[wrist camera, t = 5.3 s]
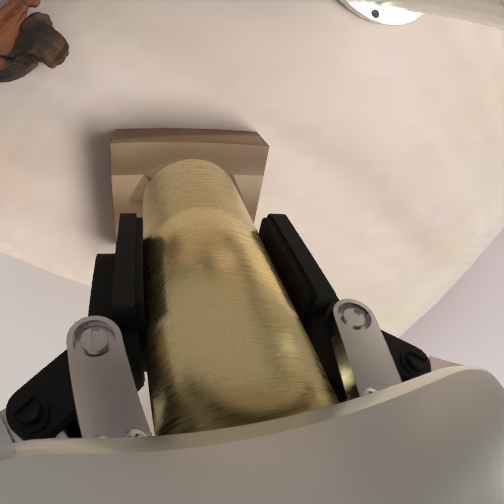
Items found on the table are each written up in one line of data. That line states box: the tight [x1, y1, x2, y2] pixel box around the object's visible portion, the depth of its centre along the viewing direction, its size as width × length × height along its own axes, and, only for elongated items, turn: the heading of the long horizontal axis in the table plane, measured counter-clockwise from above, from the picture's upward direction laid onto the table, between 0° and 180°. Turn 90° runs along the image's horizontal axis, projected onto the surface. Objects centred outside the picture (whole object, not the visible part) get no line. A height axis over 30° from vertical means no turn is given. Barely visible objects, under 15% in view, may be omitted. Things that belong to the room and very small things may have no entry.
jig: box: [110, 128, 269, 240], centre depth 26 cm, size 12×12×6 cm
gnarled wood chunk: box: [0, 0, 69, 82], centre depth 12 cm, size 12×10×8 cm
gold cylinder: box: [142, 159, 339, 436], centre depth 9 cm, size 4×4×10 cm
